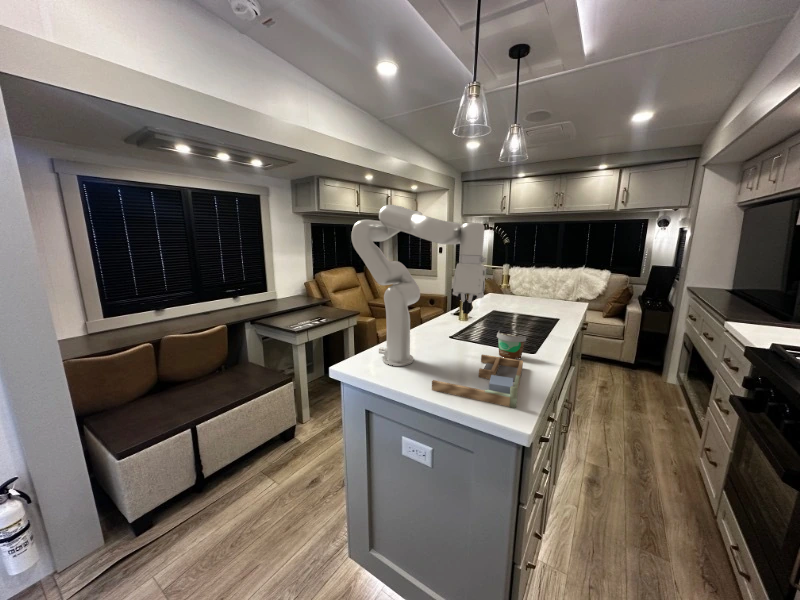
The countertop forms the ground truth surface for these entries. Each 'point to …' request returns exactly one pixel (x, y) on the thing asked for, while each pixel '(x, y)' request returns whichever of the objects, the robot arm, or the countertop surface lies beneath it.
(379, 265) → the robot arm
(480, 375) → the box
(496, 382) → the block
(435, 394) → the countertop surface
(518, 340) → the food container
